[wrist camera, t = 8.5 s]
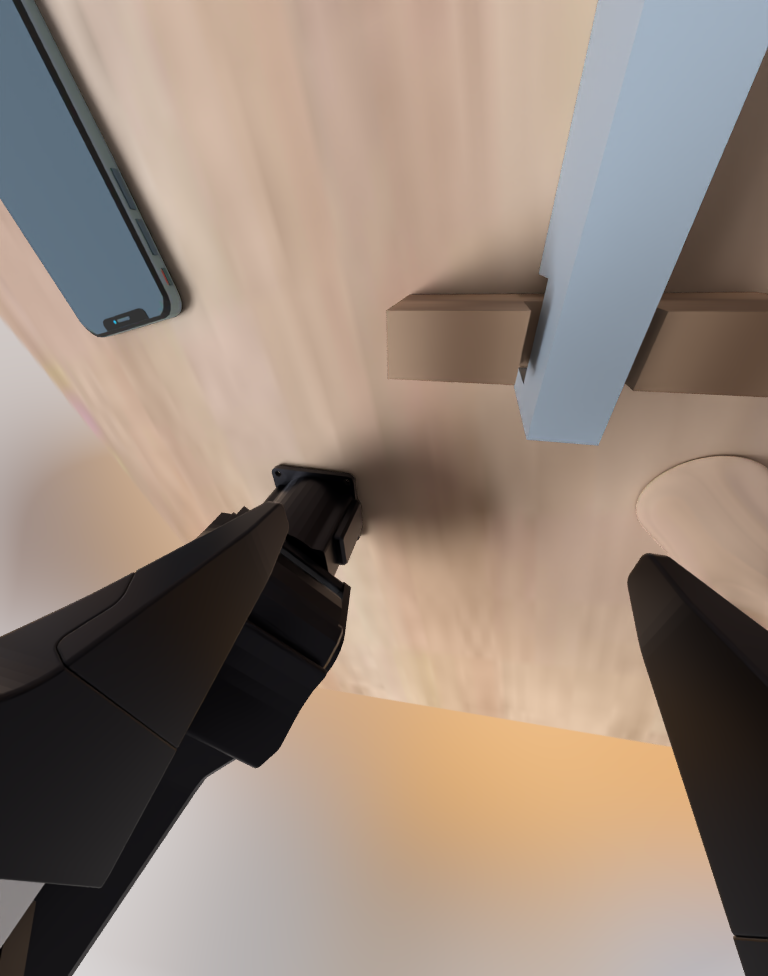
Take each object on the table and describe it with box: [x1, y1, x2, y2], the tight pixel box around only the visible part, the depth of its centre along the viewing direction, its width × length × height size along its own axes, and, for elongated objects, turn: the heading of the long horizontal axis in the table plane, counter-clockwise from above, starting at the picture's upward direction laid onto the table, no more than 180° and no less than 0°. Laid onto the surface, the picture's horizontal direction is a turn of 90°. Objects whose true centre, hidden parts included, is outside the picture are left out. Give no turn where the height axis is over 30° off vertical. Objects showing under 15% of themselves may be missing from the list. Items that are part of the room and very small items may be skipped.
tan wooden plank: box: [386, 292, 768, 397], centre depth 13 cm, size 14×2×5 cm, turn 92°
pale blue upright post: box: [514, 0, 768, 445], centre depth 10 cm, size 2×14×6 cm, turn 2°
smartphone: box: [0, 0, 182, 337], centre depth 16 cm, size 8×2×15 cm
